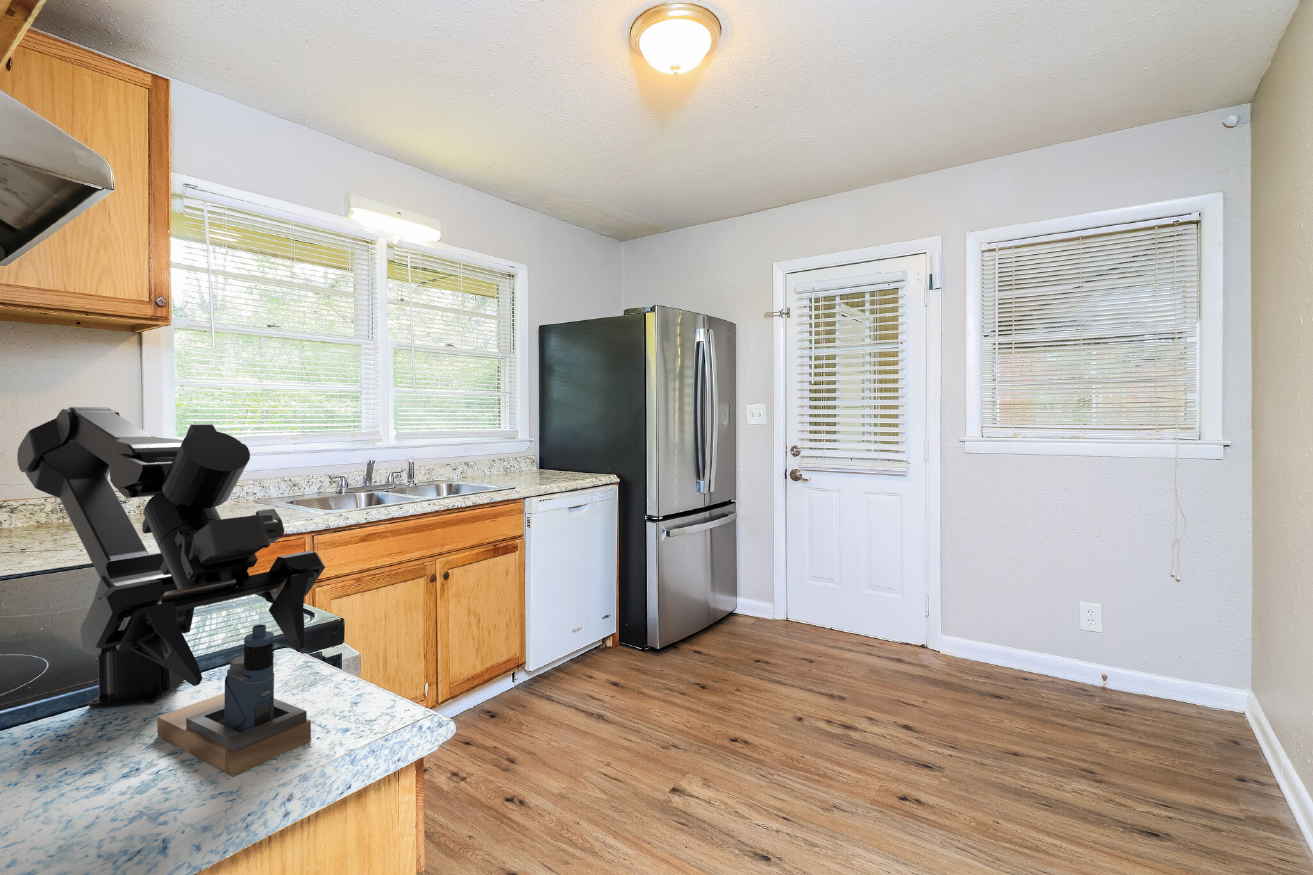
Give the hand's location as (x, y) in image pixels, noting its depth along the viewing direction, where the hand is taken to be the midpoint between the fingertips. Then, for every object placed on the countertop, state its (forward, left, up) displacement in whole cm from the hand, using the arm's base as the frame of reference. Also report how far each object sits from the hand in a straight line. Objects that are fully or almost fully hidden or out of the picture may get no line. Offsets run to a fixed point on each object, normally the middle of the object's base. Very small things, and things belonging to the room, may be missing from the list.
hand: (253, 665), depth 59 cm
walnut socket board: (-3, +3, -8) cm, 9 cm away
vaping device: (-1, +1, -8) cm, 8 cm away
